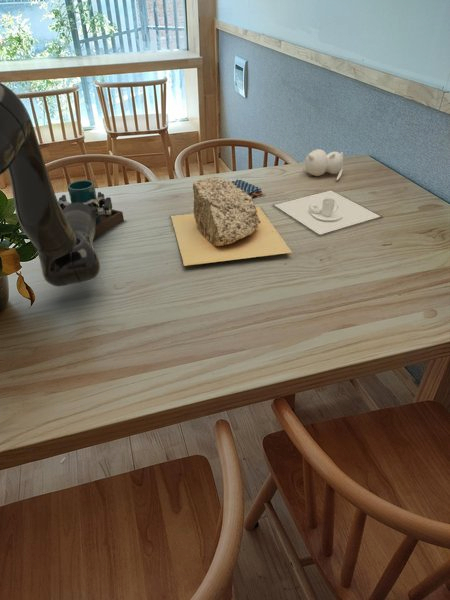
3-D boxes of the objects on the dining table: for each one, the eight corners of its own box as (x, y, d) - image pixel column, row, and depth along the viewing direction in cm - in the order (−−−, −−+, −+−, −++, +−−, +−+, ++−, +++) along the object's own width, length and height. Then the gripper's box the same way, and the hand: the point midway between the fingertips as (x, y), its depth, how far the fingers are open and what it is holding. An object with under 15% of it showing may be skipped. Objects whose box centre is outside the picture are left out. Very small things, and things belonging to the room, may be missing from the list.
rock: (168, 215, 118) (196, 158, 112) (237, 244, 127) (266, 193, 120) (181, 264, 95) (217, 197, 89) (264, 296, 104) (302, 236, 97)
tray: (52, 227, 114) (50, 218, 112) (85, 210, 122) (83, 201, 120) (92, 239, 108) (90, 230, 107) (124, 220, 116) (122, 211, 115)
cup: (71, 224, 114) (62, 187, 108) (88, 215, 118) (80, 178, 112) (89, 229, 111) (81, 191, 105) (106, 220, 116) (99, 182, 110)
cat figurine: (345, 142, 136) (306, 142, 135) (351, 171, 133) (312, 171, 131) (336, 161, 145) (300, 161, 143) (342, 188, 141) (305, 189, 140)
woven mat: (236, 204, 123) (236, 197, 122) (212, 193, 130) (212, 186, 129) (264, 195, 129) (264, 188, 127) (240, 184, 135) (240, 177, 134)
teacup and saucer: (303, 211, 119) (304, 197, 117) (327, 205, 122) (328, 191, 120) (324, 224, 113) (326, 209, 110) (348, 217, 116) (351, 203, 113)
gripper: (107, 207, 96) (109, 180, 109) (39, 213, 94) (48, 184, 107) (113, 238, 101) (114, 208, 114) (47, 244, 99) (56, 213, 112)
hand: (82, 197), depth 110 cm, fingers open, 8 cm apart
